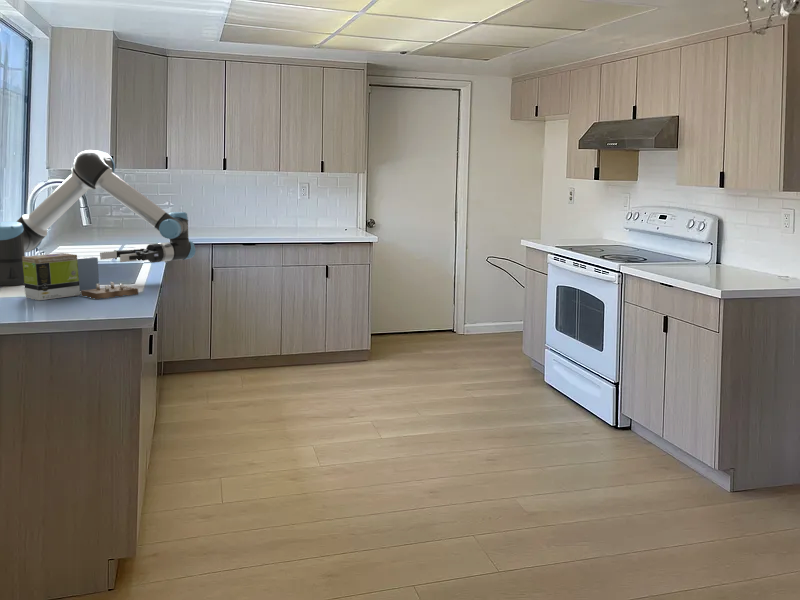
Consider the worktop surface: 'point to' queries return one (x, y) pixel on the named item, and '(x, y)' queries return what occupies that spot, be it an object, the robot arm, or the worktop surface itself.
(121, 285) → the dock pins
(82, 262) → the block
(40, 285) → the tea box
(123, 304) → the worktop surface
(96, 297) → the dock
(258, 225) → the worktop surface
